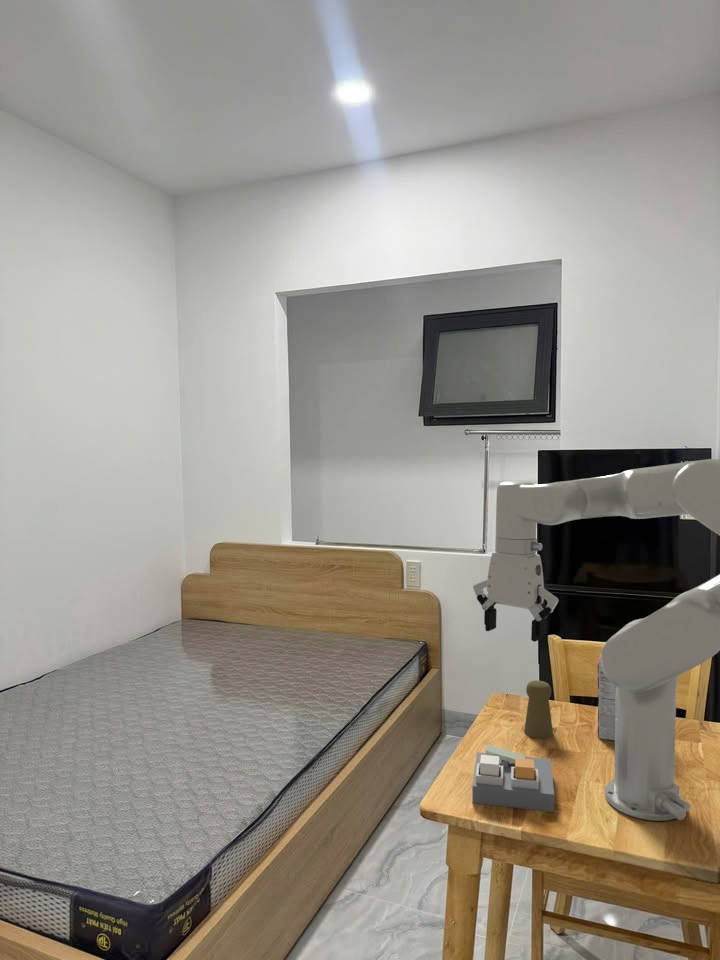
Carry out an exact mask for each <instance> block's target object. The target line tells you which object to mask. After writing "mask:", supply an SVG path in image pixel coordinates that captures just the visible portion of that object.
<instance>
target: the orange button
mask: <svg viewBox="0 0 720 960" xmlns="http://www.w3.org/2000/svg"><path fill="white" fill-rule="evenodd" d="M515 778H524V779H534V760H533V759H522V758H515Z"/></svg>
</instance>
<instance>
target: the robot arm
mask: <svg viewBox="0 0 720 960" xmlns="http://www.w3.org/2000/svg"><path fill="white" fill-rule="evenodd" d="M495 501H496V504H495V506H496V507H495V508H496V509H495V512H496V513H495V545H494V547H495V549H494V551H492V552H491V556H490V559H489V560H490V562H489V566H488V571H487V572H488V574H487V579H486V580H483V581H481V582H479V583H476V584H474V585H473V586H472V588H473V592H474V593H475V595H476V600H477V602H479V604H480V606H481V608H482V610H483V611H484V614H483V615H484V618H483V619H484V621H483V623H484V626H485V627H484V630H485V632H490V631H492V630H495V629H496V628H497V608H496V607H495V606H496V605H497V604H498V605H504V606H509V607H515V608H518V609H519V608H520V609H523V610H524V609H527V610H528V611H529V612H530V614H531V615H532V617H533V618H534V619H532V621H531V634H530V635H531V637H530V641H532V642H538V641H540V640H541V639H542V637H544V635H545V619H546V618H547V617H548V616H549V615H551V614H553V612H554V610H555V608H556V606H557V605H558V603H559V602H560V601H559V598H558V597H557V596H556V595H554V594H552V593H551V592H550V591H549V590H547V589H546V588H545V584H544V572H543V571H544V570H543V564H542V563H543V562H542V558H541V555H540V554H538V553H537V552H538V551H542V549H543V544H542V543H541V542H538V539H537V524H541V525H546V526H555V525H560V524H563V523H566V522H571V521H574V520H575V521H576V520H581V519H582V520H583V519H593V518H603V517H619V516H620V517H626V518H629V519H631V520H633V519H634V520H637V519H638V520H640V519H641V520H643V519H644V520H645V519H652V518H662V517H674V516H686V515H690V517H692V518H693V519H694V520H696V521H697V522H699V523H700V524H701V525H703V526H705V527H706V528H707V529H709V530H711V531H712V532H714V533H715V534H717V535H718V536H720V459H717V458H716V459H714V458H709V459H708V458H707V459H700V460H693V461H686V462H679V463H670V464H663V465H656V466H648V467H641V468H639V467H638V468H632V469H627V470H624V471H622V472H620V473H615V474H609V475H605V476H604V475H603V476H596V477H590V478H588V477H587V478H580V479H573V480H565V481H564V480H563V481H555V482H551V483H542V484H534V483H533V482H529V481H518V480H517V481H516V480H515V481H512V480H511V481H503V482H500V483H499V484H498V485H497V488H496V500H495ZM484 589H486V594H485V592H484ZM544 600H546V602H547V604H546V606H545V607H543V606H542V604H544ZM719 651H720V573H719V574H718V575H716V576H714V577H713V578H710V579H708V580H707V581H706V582H703V583H702V584H700V585H698V586H695V587H694V588H692V589H689V590H687V591H684V592H683V593H681V594H679V595H677V596H675V598H673V599H672V600H671V601H670V602H668V603H666V605H664V606H663V607H661V608H660V609H657V610H656V611H654V612H653V613H651V614H649V615H648V616H646V617H644V618H639V619H634V620H632V621H629V622H628V623H627V624H625V625H624V626H623V627H622V628H620V629H619V630H618V631H617V632H616V633H614V634H613V635H612V636H611V637H610V638H609V639H608V640H606V641H605V644H604V645H603V648H602V649H601V652H602V653H601V652H600V655H601V667H602V670H603V672H604V674H605V676H606V678H607V679H608V680H609V681H610V682H611V683H612V684H613V685H614V686H616V706H615V741H614V779H613V780H611V781H609V782H608V783H606V785H605V787H604V797H605V799H606V801H607V802H608V803H609V804H610V805H611V806H612V807H613V808H614V809H616V810H618V811H619V812H621V813H623V814H626V815H628V816H629V817H633V818H637V819H640V820H645V821H653V822H654V821H656V822H661V821H662V822H663V821H671V820H674V819H677V820H678V821H683V820H684V819H685V817H686V816H687V812H689V811H690V810H691V804H690V803H689V802H688V801H686V800H685V799H683V797H682V795H680V786H679V785H677V784H676V783H675V773H676V771H675V769H676V768H675V767H676V766H675V765H676V764H675V761H676V757H675V756H676V749H675V748H676V718H677V716H676V715H677V692H678V691H677V689H678V681H679V680H678V679H679V678H678V677H679V676H680V675H683V674H684V673H686V672H688V671H690V670H692V669H695V668H696V667H697V666H700V665H702V664H703V663H705V662H707V661H708V660H710V659H711V658H713V657H714V656H715V655H716V654H718V653H719Z"/></svg>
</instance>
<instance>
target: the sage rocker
mask: <svg viewBox="0 0 720 960" xmlns="http://www.w3.org/2000/svg"><path fill="white" fill-rule="evenodd" d="M485 753H486V755H490V756H499V759H501V760H504V761H508V762H511V763H514V764H515V758H522V759H525V757H526V755H524V754H521V753H519V752H515V751H512V750H508V749H505V748H502V747H498V746H494V745H492V744H489V743H487V744H486V749H485Z"/></svg>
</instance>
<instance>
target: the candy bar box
mask: <svg viewBox="0 0 720 960" xmlns="http://www.w3.org/2000/svg"><path fill="white" fill-rule="evenodd" d="M601 653H602V651H601V652H600V655H599V659H598V662H597V738H598V739H599V740H603V741H610V742H611V741H612V742H615V706H616V686H614V685H613V684H612V683H611V682H610V681H609V680H608V679H607V678H606V676H605V674H604V672H603V670H602V667H601Z"/></svg>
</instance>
